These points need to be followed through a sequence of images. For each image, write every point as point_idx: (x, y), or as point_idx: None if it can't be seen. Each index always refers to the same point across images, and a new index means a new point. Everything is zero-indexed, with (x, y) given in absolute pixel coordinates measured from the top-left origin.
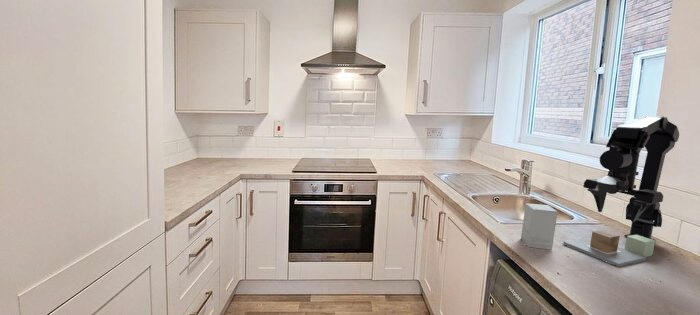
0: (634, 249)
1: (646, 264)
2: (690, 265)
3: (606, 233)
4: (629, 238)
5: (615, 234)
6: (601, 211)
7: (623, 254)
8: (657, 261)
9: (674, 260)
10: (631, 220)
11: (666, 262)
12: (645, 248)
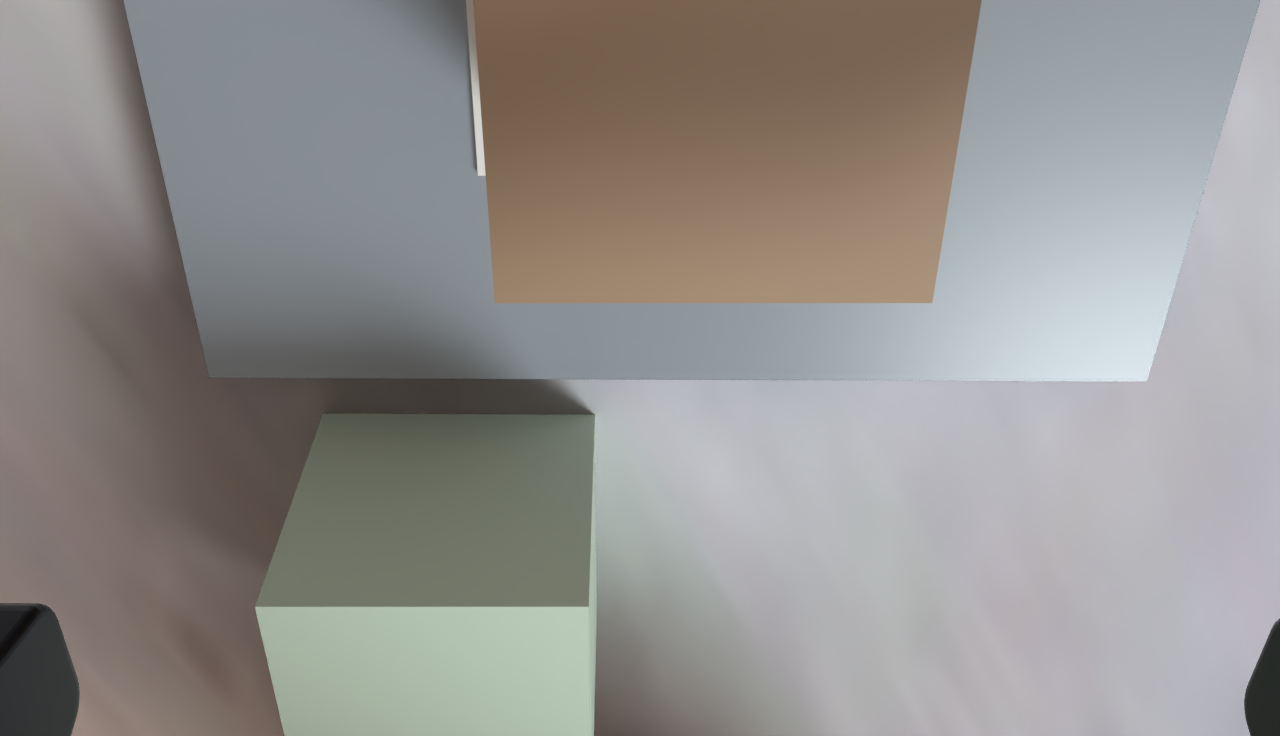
0: (449, 466)
1: (86, 170)
2: None
3: (723, 119)
4: (544, 584)
5: (585, 281)
6: (1251, 714)
7: (379, 86)
8: (169, 462)
9: (170, 692)
10: (21, 628)
11: (125, 541)
12: (287, 532)
